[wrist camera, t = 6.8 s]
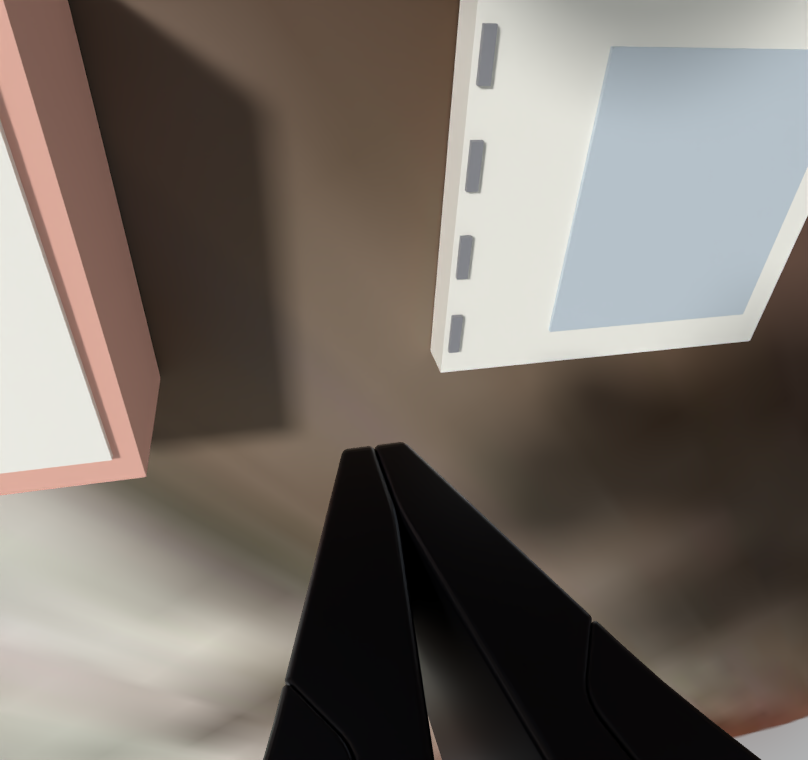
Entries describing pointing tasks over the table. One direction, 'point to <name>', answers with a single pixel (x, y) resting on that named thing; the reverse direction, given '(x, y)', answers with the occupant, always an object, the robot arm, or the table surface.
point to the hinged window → (618, 176)
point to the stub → (64, 274)
